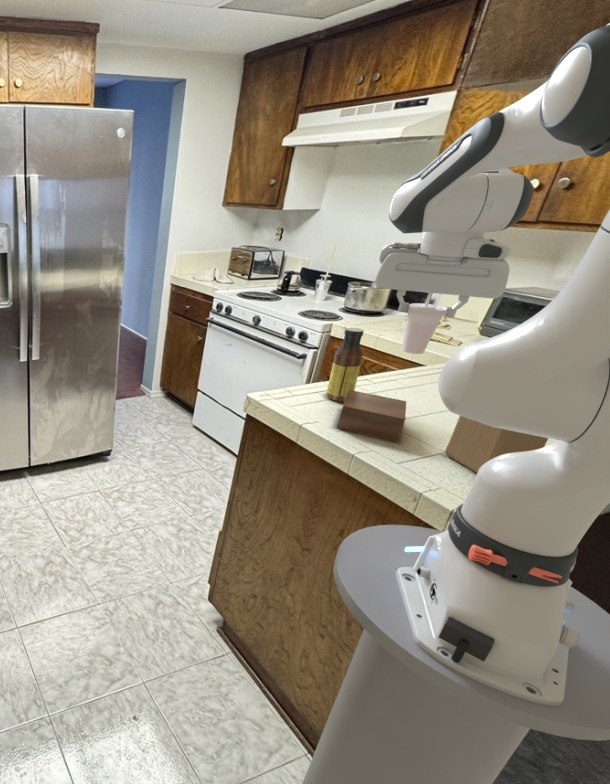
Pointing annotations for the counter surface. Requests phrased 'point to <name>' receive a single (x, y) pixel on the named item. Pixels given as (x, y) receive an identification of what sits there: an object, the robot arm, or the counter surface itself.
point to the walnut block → (373, 415)
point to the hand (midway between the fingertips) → (425, 313)
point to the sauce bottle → (345, 366)
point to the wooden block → (487, 443)
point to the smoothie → (421, 325)
